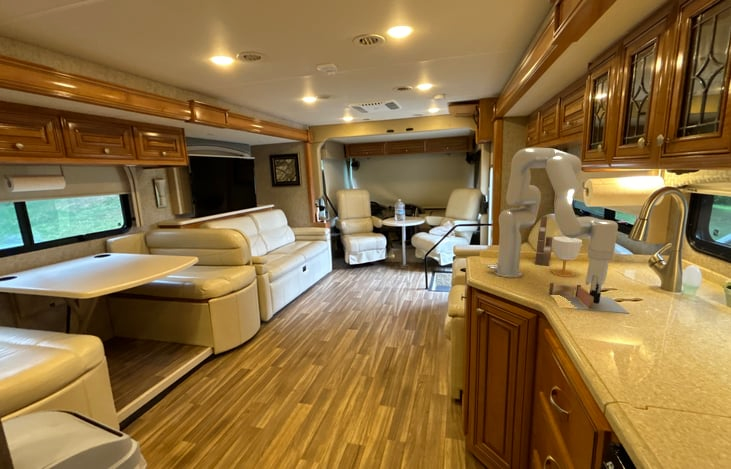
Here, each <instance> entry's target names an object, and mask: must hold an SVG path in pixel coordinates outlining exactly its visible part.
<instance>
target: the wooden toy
mask: <svg viewBox="0 0 731 469" xmlns="http://www.w3.org/2000/svg"><path fill="white" fill-rule="evenodd" d="M547 222H548V216H547V215H542V216H541V217H540V225H539V227H538V233H537V235H538V236H537V245H536V253H535V260H534V261H535V263H534V265H536V266H537V265H538V266H545V267H550V261H551V258H552V251H553V238H554V237H553V236H546V234H547V226H548V223H547Z"/></svg>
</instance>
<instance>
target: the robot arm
mask: <svg viewBox="0 0 731 469" xmlns="http://www.w3.org/2000/svg"><path fill="white" fill-rule="evenodd" d="M582 167H583V165H582V161H581V159H580V158H579V157H578V156H577V155H574V154H571V153H568V152H565V151H562V150H559V149H556V148H552V147H526V148H522V149H520V150H518V151H517V152H516V153H515V154H514V156H513V157H512V160H511V164H510V175H509V179H508V186H507V189H506V190H507V191H506V196H505V199H506V204H508V205H509V206H510V207H512V208H508V209H505V210H504V209H503V211H501V213H499V215H498V227H499V241H498V253H497V254H498V255H497V262H496V263H495V264H494V263H493V264H486V268H487V269H490V270H493V274H494V275H496V276H498V277H503V278H508V279H516V278H517V279H518V278H520V277H522V276H523V272H522V271H521V270H520V263H521V261H520V260H521V251H522V250H521V249H522V235H521V233H520V232H521V231H520V229H525V228H530V227H532V226H534V224H535V222H536V220H537V217H538V212H539V208H540V204H541V199H542V195H541V190H540V189H539V188H538V187H537V186H536V185H532V184H531V178H532V176H531V175H532V174H531V170H530V169H545V171H546V174H547V176H548V179H549V181H550V184H551V187H552V188H553V189H552V190H553V191H554V194H555V197H556V198H555V202H554V210H553V212H554V218H555V221H556V223H557V226H558V228H559V230H560V232H561V233H562V234H563V236H564V237H568V238H577V239H579V238H586V237H589V242H588V250H587V251H588V253H587V258H588V259H589V262H588V267H587V270H586V271H587V273H586V278H585V285H586V286H589V285H590V289H589V292H588V293H589V294H590V295H591V296H593V297H594V300H593V303H596V304H598V303H599V302H600V297H601V293H602V292H601V291H602V287H603V285H604V284H605V282H606V280H607V279H606V278H607V274H608V269H609V262H612V261H614V257H615V256H614V255H615V248H616V240H617V236H618V229H619V224H618V222H616V221H614V220H610V219H609V220H608V219H600V218H597V217H593V216H579V217H577V216H576V214H575V211H574V208H573V201H574V198H575V196H577V195H579V193H580V192H581V190H582V189H581V188H582V187H581V185H580V182H579V180H578V179H577V176H576V175H578V174H579V173H580V172H581V170H582ZM513 207H514V208H513Z"/></svg>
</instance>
